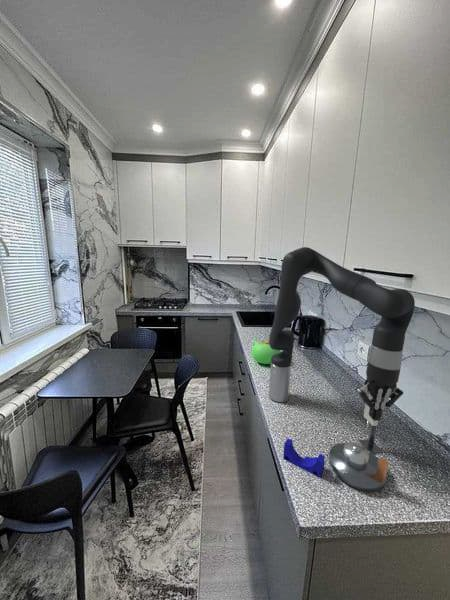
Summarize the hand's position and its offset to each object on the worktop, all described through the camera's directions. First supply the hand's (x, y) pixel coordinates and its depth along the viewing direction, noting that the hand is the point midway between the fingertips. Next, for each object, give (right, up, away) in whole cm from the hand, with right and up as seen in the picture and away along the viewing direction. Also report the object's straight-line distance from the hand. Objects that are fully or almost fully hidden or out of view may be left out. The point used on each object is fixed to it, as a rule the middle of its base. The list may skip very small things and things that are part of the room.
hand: (374, 418), depth 70 cm
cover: (-1, -17, +8) cm, 19 cm away
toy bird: (-17, -6, +87) cm, 88 cm away
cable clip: (-17, -20, +11) cm, 29 cm away
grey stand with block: (+9, -19, +18) cm, 28 cm away
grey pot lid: (-1, -19, +8) cm, 21 cm away
